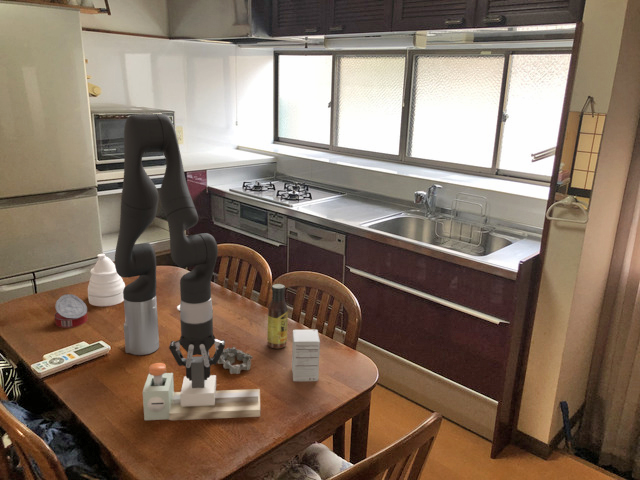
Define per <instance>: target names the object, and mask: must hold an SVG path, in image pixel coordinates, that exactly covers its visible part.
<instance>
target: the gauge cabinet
mask: <svg viewBox="0 0 640 480" xmlns="http://www.w3.org/2000/svg"><path fill="white" fill-rule="evenodd" d="M162 381H163V386H154V376H153V375H150V374H149V373H148V374H147V378H146V381H145V382H144V386H143V389H142V403H143V405H142V406H143V414H144V415H143V418H144V421H156V420H158V421H159V420H170V419H169V412H170V408H171V404H172V400H173V396H174V392H175V385H174V373H173V372H165V373H164V374H162Z"/></svg>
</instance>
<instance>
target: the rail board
mask: <svg viewBox="0 0 640 480" xmlns="http://www.w3.org/2000/svg"><path fill="white" fill-rule="evenodd" d="M180 393H181V391H174V396H173V400H172V404H171V408H170V412H169V419H168V420H169V421H189V420H209V419H210V420H212V419H232V418H233V419H236V418H258V417H261V389H260V388H253V389H252V388H251V389H249V388H248V389H229V390H228V389H226V390H223V389H222V390H216V393H215V405H210V406H185V407H182V405H181V399H180Z"/></svg>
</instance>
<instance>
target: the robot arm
mask: <svg viewBox="0 0 640 480" xmlns="http://www.w3.org/2000/svg"><path fill="white" fill-rule="evenodd" d="M175 129H176V128H175V126H174V123H173V121H172V119H171V118H170V117H169V116H168V115H167V114H165V113H142V114H140V113H139V114H132V115H129V116H128V117H127V118H126V119H125V123H124V129H123V148H124V150H123V154H124V155H123V157H124V158H123V160H124V165H123V167H124V168H123V183H122V189H121V198H120V200H121V201H120V219H119V229H118V230H119V231H118V237H117V242H116V246H115V253H114V265H115V268H116V271H117V273H118V275H119V276H121V278H122V279H123V278H125V279H126V278H128V279H129V278H135V277H136V279H135V280H134V281H132V282H130V283H128V284H127V285H125V288H124V290H123V298H124V301H123V306H124V307H123V308H124V323H123V333H124V347H125V353H126V354H131V355H133V356H134V355H135V356H144V355H150V354H152V353H154V352H156V351H157V350H159V348H160V339H159V337H160V336H159V335H160V334H159V323H158V322H159V321H158V304H157V256H156V255H157V254H156V251H155V248H154V246H153V245H152V244H151V243H149V242H143V243H136V242H137V240H139V238H140V237H141V235H142V234H144V232H145V231H146V230H147V229H148V228H149V227H150V226H151V224H152V223H153V221H154V220H155V218H156V216H157V212H158V206H159V205H158V204H159V201H160V205H161V207H162V209H163V213H164V215H165V218H166V222H167V224H168V231H169V247H170V248H169V250H170V258H171V259H172V261H173V263H174V264H175V265H176V266H177V267H179V268H180V269H181V268H182V269H186V268H191V267H194V266H195V267H194V268H193V269H192V270H191V271H189V272H186V273H185V274H183V275H182V276H181V277H180V281H179V290H180V303H179V305H180V311H179V315H180V316H179V317H180V337H179V339H178V340H176V341H175V340H171V341H170V343H169V347H168V349H169V351H170V353H171V354H172V357H173V358H174V360H175V362H176V364H177V365H178V366H179V367H182V366H183V367H185V376H186V377H187V378H189V381H192V375H191V361H192V357H194V356H195V355H197V356H199V355H200V356H202V358H203V360H204V380H207V378H209V377H210V375H211V366H216V365H217V364H218V363H217V362H218V360H219V358H220V356H221V354H222V352H223V349H225V345H226V340H225V339H221V340H219V339H217V338H216V336H215V335H214V325H213V324H214V321H213V320H214V317H213V316H214V315H213V314H214V310H213V302H212V288H211V287H212V285H211V284H212V278H213V273H214V270H215V265H216V262H217V258H218V254H219V253H218V252H219V249H218V244H217V241H216V239H215V237H214V236H213V235H212V234H210V233H208V232H206V233H205V232H204V233H203V232H202V233H195V234H190V235H186V233H185V231H187V230H189V229H191V228H193V227H195V226H196V225H197V224H198V222H199V215H198V212H197V209H196V206H195V203H194V201H193V199H192V196H191V193H190V189H189V187H188V184H187V179H186V176H185V175H186V174H185V169H184V165H183V160H182V155H181V150H180V145H179V141H178V137H177V136H178V135H177V133H176V130H175ZM150 153H151V154H152V153H153V154H154V153H162V154H163V155H164V158H165V163H166V164H165V165H166V166H165V170H164V171H165V172H164V175H163V178H162V182H161V185H160V190H159V191H158V188H157V187H156V185H155V183H154V181H153V180H152V178H150V176H149V174H148V173H147V172H146V171H145V168H144V166H143V162H142V160H143V155H145V154H150ZM159 199H160V200H159ZM213 345H214V348H215V351H214V354H213V356H212V357H211V356H210V349H211V348H212V347H213ZM181 347H182V348H183V349H184V351H186V353H187V355H186V358H185V357H184V355H183V354H182V351H181V350H180V348H181Z"/></svg>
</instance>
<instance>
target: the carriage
mask: <svg viewBox="0 0 640 480" xmlns="http://www.w3.org/2000/svg"><path fill="white" fill-rule="evenodd" d="M191 375H192V381H189V378H187V377H186V375H185V376H183V381H182V386H181V389H180V392H181V393H180V399H181V405H182V407H185V406H210V405H215V393H216V391H217V375H215V374H213V375H212V374H210V377H209V378H207V380H204V360H203V358H202V355H200V356H192V361H191Z"/></svg>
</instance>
